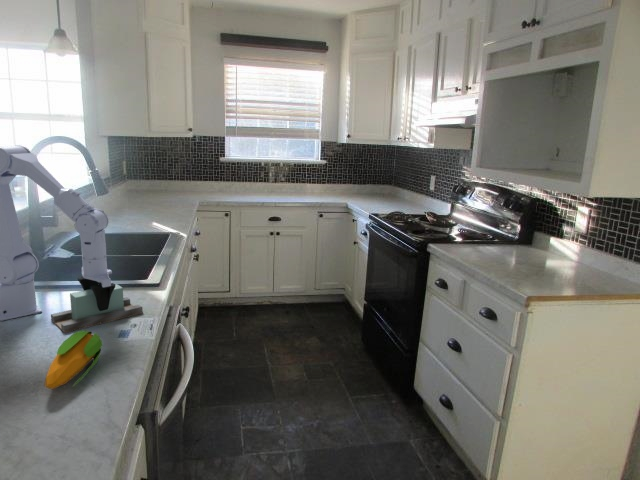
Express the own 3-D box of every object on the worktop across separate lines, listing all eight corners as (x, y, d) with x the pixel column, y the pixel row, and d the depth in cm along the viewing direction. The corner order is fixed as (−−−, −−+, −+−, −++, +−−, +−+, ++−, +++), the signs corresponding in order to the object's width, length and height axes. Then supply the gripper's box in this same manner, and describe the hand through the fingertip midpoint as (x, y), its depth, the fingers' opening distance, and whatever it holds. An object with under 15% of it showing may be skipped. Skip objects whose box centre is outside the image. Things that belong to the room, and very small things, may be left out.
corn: (107, 320, 104) (68, 364, 85) (111, 352, 106) (74, 401, 86) (72, 322, 103) (26, 367, 84) (77, 354, 105) (33, 404, 86)
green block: (77, 323, 119) (75, 297, 117) (72, 318, 122) (69, 293, 120) (124, 311, 127) (122, 287, 126) (117, 307, 130) (116, 284, 129)
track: (64, 332, 114) (64, 326, 114) (51, 320, 121) (50, 314, 121) (142, 313, 128) (142, 306, 128) (127, 302, 135) (126, 297, 135)
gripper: (121, 260, 119) (124, 310, 122) (99, 248, 129) (102, 295, 132) (93, 264, 114) (96, 316, 117) (71, 252, 124) (75, 300, 127)
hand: (97, 305), depth 124 cm, fingers open, 7 cm apart
